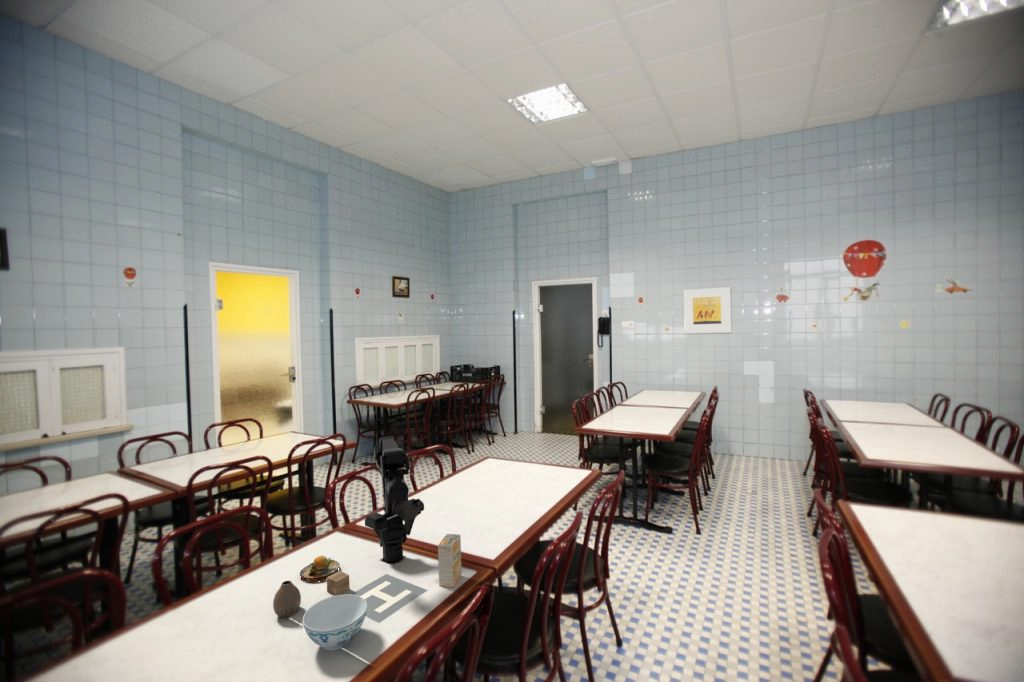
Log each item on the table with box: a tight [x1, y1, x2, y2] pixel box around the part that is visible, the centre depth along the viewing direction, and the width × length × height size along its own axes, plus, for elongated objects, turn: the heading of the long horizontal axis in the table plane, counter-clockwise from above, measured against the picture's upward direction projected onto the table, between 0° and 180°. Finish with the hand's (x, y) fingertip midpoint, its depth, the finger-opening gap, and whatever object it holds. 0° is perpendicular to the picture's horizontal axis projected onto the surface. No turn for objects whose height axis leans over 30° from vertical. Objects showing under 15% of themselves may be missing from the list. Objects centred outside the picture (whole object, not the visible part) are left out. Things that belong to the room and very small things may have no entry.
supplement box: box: [437, 533, 462, 588], centre depth 143 cm, size 8×5×13 cm, turn 168°
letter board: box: [351, 573, 428, 624], centre depth 135 cm, size 18×18×1 cm
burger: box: [299, 555, 340, 583], centre depth 150 cm, size 12×12×8 cm
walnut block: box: [326, 570, 350, 596], centre depth 138 cm, size 4×4×5 cm
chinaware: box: [302, 593, 367, 652], centre depth 116 cm, size 15×15×8 cm
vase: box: [272, 580, 302, 619], centre depth 128 cm, size 7×7×9 cm
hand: (396, 540), depth 144 cm, fingers open, 9 cm apart
